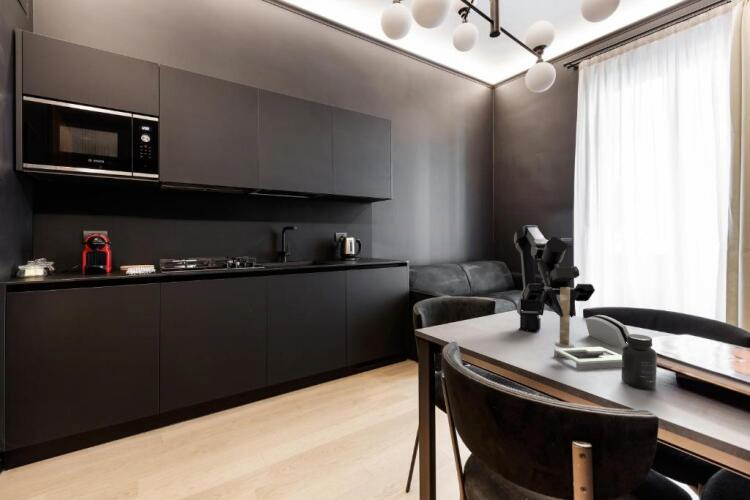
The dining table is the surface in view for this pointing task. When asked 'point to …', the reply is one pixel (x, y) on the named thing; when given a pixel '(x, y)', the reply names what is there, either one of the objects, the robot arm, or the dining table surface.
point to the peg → (564, 319)
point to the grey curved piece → (607, 330)
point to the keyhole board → (592, 363)
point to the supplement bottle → (639, 363)
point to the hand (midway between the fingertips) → (567, 316)
